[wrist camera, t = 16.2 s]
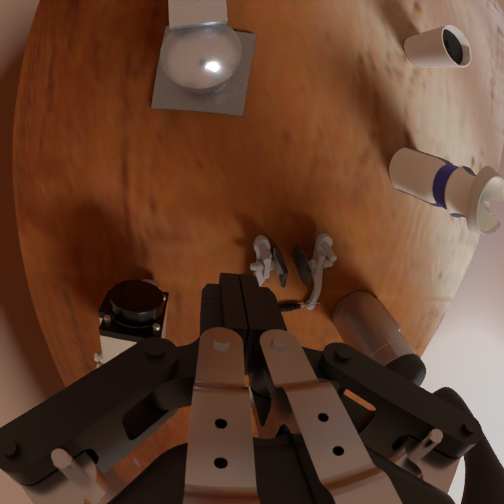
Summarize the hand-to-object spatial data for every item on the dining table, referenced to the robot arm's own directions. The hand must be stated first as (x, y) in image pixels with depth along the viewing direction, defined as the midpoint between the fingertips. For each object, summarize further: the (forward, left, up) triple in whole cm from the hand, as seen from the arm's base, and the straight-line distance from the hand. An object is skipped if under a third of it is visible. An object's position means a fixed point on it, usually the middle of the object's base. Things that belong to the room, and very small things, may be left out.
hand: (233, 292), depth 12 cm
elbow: (+5, -19, -24) cm, 31 cm away
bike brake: (-13, +17, -30) cm, 36 cm away
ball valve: (+10, +22, -29) cm, 38 cm away
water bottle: (-30, -6, -29) cm, 42 cm away
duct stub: (+4, -14, -29) cm, 32 cm away
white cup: (-28, -27, -29) cm, 49 cm away
